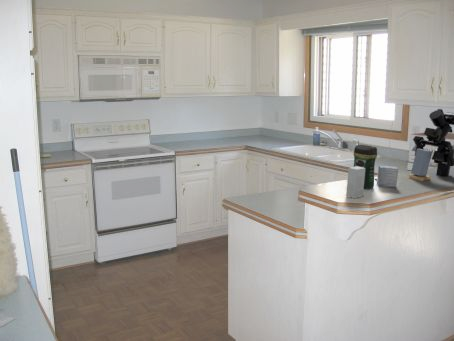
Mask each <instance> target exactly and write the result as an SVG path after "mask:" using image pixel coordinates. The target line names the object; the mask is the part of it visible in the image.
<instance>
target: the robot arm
mask: <svg viewBox="0 0 454 341" xmlns="http://www.w3.org/2000/svg"><path fill="white" fill-rule="evenodd" d="M429 119H430V121H431V122H432V124H433V126H434V127H436V128H433V127H432V128H431V127H425V129H424V132H423V135H425V136H426V140H425V139H424V138H425V137H424V136H419V135H415V136H414V137H413V139H412V140H413V143H414V145H415V147H416V148H415V151H414V155H415V154H416V150H417V149H424V148H425V147H426V146H431V147H435V148H436V149H435V150H434V152H433V153H432V156H431V160H432V161H433V163H434V164H437V168H436V172H435V175H436V176H438V177H451V178H452V177H453V176H452V175H450V173H451V167H454V144H453V145H452V143H451V141H447V140H446V136H447V135H448V133H449V134H451V133H453V127H452V126H454V112H448V111H447V112H445V113H444V111H443V109H442V108H437V110H434V111H431V112H430V114H429Z"/></svg>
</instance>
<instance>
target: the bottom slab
mask: <svg viewBox="0 0 454 341" xmlns="http://www.w3.org/2000/svg"><path fill="white" fill-rule="evenodd" d="M406 179H410V180H411V179H412V178H409V176H408V177H406ZM412 180H415V181H419V182H421V181H420V180H416V179H412ZM425 181H427V180H424V181H423V182H425ZM428 181H431V178H430V179H429V180H428Z"/></svg>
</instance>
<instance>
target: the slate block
mask: <svg viewBox="0 0 454 341" xmlns="http://www.w3.org/2000/svg"><path fill="white" fill-rule="evenodd" d="M415 151H416V154H415V153H414V159H413V162H412V163H413V164H412V168H411V170H410V173H411V174H416V175H419V176H426V175H427V174H428V170H429V166H430V163H431V160H432V157H433V151H432V150H428V149H417V150H416V149H415ZM427 176H428V175H427Z"/></svg>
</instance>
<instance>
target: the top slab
mask: <svg viewBox="0 0 454 341" xmlns="http://www.w3.org/2000/svg"><path fill="white" fill-rule="evenodd" d="M408 177H409V178H408V179H410V178H412V180H414V179H416V180H415V181H418V180H420V181H419V182H425V181H424V180H426V181H430V180H429V179H431V177H432V176H430V175H426V176H419V175H416V174H412V173H411V174H409V175H408Z"/></svg>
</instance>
